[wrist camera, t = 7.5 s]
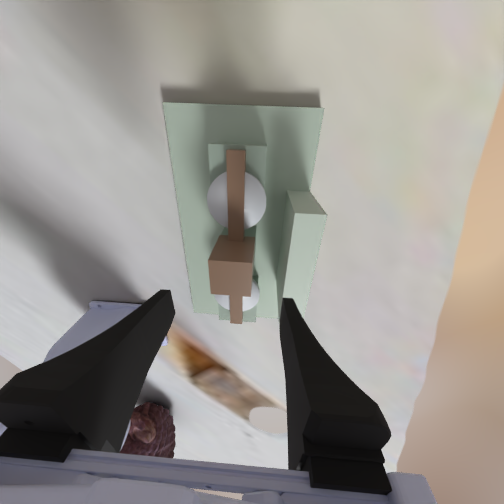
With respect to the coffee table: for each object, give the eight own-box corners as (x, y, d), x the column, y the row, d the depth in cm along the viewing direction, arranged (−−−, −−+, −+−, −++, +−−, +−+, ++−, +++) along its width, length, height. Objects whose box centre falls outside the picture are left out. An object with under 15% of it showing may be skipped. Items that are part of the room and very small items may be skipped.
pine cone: (196, 426, 46) (180, 493, 37) (157, 427, 48) (133, 492, 39) (160, 383, 38) (129, 457, 29) (114, 387, 39) (72, 458, 31)
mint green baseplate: (196, 306, 27) (176, 356, 21) (168, 103, 16) (109, 86, 10) (286, 313, 27) (292, 365, 21) (321, 109, 16) (354, 94, 10)
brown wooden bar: (217, 314, 22) (207, 348, 19) (205, 147, 14) (185, 152, 11) (257, 317, 22) (256, 352, 18) (269, 150, 14) (270, 156, 10)
